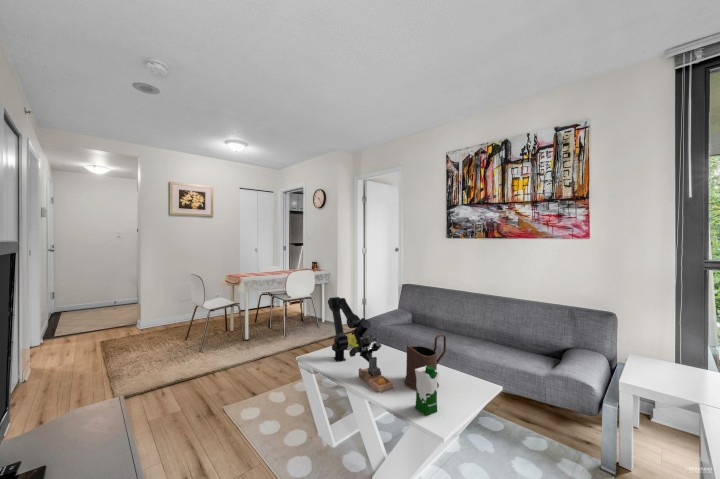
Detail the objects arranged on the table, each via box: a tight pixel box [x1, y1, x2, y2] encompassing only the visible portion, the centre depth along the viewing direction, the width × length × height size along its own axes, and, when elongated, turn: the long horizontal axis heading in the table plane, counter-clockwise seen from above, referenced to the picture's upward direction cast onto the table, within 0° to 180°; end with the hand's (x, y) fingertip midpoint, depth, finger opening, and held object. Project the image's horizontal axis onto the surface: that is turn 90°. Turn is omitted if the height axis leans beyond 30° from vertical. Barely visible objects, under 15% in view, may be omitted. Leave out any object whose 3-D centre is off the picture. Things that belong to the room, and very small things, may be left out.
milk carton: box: [414, 366, 440, 417], centre depth 142 cm, size 9×9×20 cm
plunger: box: [367, 356, 381, 377], centre depth 168 cm, size 4×5×8 cm
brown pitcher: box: [403, 333, 447, 391], centre depth 169 cm, size 18×24×25 cm
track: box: [358, 367, 382, 385], centre depth 171 cm, size 10×8×5 cm
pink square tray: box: [367, 375, 394, 393], centre depth 163 cm, size 9×9×3 cm
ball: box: [378, 378, 385, 386], centre depth 163 cm, size 4×4×4 cm
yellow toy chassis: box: [347, 333, 359, 348], centre depth 223 cm, size 16×6×8 cm, turn 30°
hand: (371, 363), depth 170 cm, fingers closed, pressing on plunger
